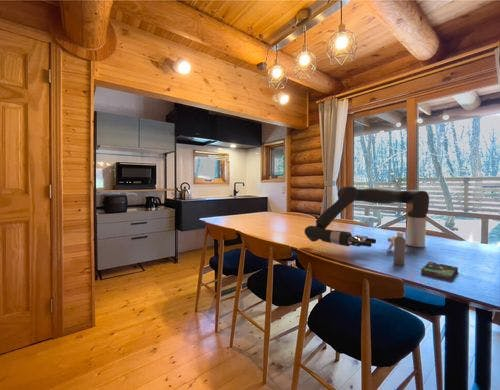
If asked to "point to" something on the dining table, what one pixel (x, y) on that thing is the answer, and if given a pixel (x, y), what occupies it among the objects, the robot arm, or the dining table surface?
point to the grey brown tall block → (399, 250)
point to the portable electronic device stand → (392, 243)
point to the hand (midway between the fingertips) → (373, 243)
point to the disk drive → (439, 271)
